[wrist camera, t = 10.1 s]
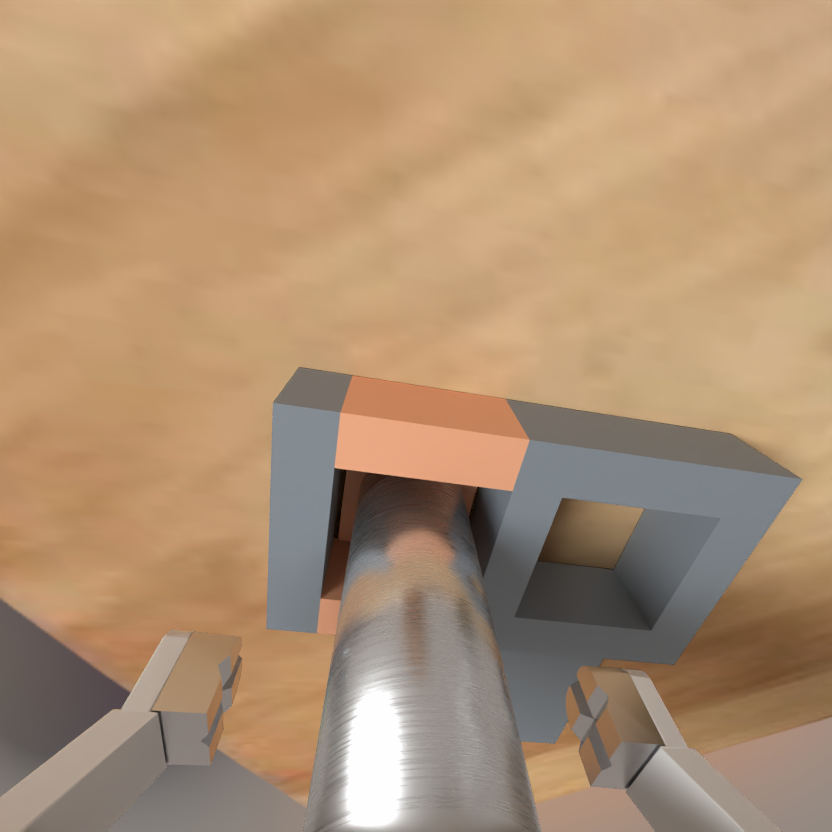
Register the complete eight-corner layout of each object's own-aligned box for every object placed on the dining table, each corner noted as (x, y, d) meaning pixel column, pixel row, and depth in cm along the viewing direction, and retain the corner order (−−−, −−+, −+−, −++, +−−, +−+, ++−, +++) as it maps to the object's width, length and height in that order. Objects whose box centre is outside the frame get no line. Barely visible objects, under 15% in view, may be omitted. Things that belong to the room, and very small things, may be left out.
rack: (730, 433, 15) (802, 479, 12) (577, 703, 22) (601, 770, 20) (298, 367, 14) (272, 402, 11) (281, 681, 21) (262, 750, 18)
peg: (473, 460, 15) (582, 815, 6) (450, 543, 17) (509, 922, 8) (365, 445, 15) (304, 803, 5) (353, 532, 16) (290, 917, 7)
